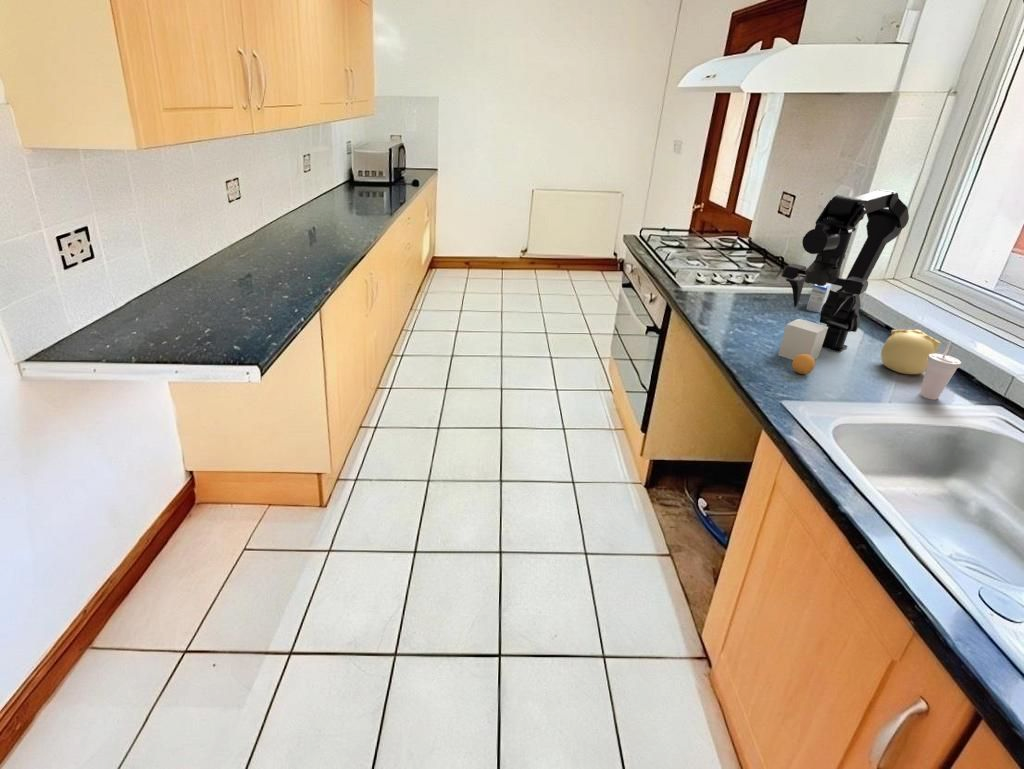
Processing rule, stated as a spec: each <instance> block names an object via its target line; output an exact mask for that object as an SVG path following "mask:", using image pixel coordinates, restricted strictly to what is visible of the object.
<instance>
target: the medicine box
mask: <svg viewBox="0 0 1024 769" xmlns="http://www.w3.org/2000/svg"><path fill="white" fill-rule="evenodd" d="M831 287H832V284H830V283H826V285H824V286H818V285H817V284H813V286H812V289H811V291H810V292H811V293H810V294H809V298H808V299H809V300H808V302H807V305H806V311H810V312H814V313H820V314H821V309H822V306H823V305H824V303H825V302H826V301H827V299H828V297H829V295H830V291H831Z"/></svg>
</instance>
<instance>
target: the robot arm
mask: <svg viewBox="0 0 1024 769" xmlns="http://www.w3.org/2000/svg"><path fill="white" fill-rule="evenodd" d="M909 214H910V213H909V209H908V206H907V205H906V204H905V203H904V202H903V201H902V200H901V199H900V197H899V193H898V192H896V191H894V190H887V189H886V190H885V189H875V190H874V191H872V192H868V193H867V192H866V193H864V194H860V195H857V196H850V195H849V196H848V195H840V194H837V195H833V197H832V198H831V199H830V200H829V201H828V202H827V204H826V205H825V207H824V208H823V210H822V211H821V213H820V215H819V216H818V217H817V219H816V221H815V226H814V228H813V229H810V230H808V231H806V233H805V235H804V236H803V237H802V248H803V249H804V251H806V252H807V253H808V254H810V255H816V256H815V259H814V260H813V262H812V263H811V264H810V265H809V266H808V267H807V265H806V266H805V265H802V264H801V265H800V264H796V263H791V264H789V265H786V266H785V267H784V268H783V270H782V272H781V277H782V278H785V280H786V282H788V283H789V284H790V285H791V290H792V296H793V306H794V308H796V307H798V304H799V302H800V300H801V295H802V292H803V288H804V283H806V284H813V285H815V284H817V285H818V286H824V285H826V283H830V284H831V285H835V286H838V287H839V286H840V288H839V289H838V290H835V291H831V292H829V294H828V297H827V300H826V302H825V303H824V305H823V306H822V309H821V311H820V318H819V323H821V324H824V325H825V326H827V327H828V329H827V333H826V336H825V339H824V342H823V345H822V348H824V349H827V350H830V351H834V352H838V353H841V352H842V351H844V350H845V349H847V348H848V345H846V344H845V343H846V340H847V337H848V334H849V333H851V332H853V333H857V330H859V328H860V325H861V322H862V321H861V317H860V313H859V312H860V310H861V306H862V305H861V298H860V295H862V294H864V293H865V292H866V291H867V289H868V286H869V281H868V279H869V277H870V276H871V274H872V273H873V272H872V271H873V269H874V268H875V267H876V264H877V263H878V260H879V258H880V257H881V255H882V253H883V251H884V249H885V247H886V245H887V244H889V243H890V242H891V241H893V240H895V239H896V238H897V237H898V236H900V234H901V232H902V230H903V229H905V227H906V226H907V225H908V222H909V218H910V215H909ZM865 215H866V217H867V223H866V225H865V227H866V233H867V234H866V235H867V238H866V239H865V241H864V243H863V245H862V247H861V249H860V251H859V253H858V255H857V257H856V259H855V261H854V263H853V265H852V266H851V268H850V271H849V272H848V273H847V276H846V278H843V277H840V274H841V268H842V264H843V262H844V260H845V259H846V252H847V249H848V246H849V244H850V240H851V237H852V233H853V232H856V230H857V228H856V227H857V225H858V224H859V222H861V221H862V220H864V217H865Z"/></svg>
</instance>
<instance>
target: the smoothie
mask: <svg viewBox="0 0 1024 769" xmlns="http://www.w3.org/2000/svg"><path fill="white" fill-rule="evenodd" d="M952 342H953V340H952V339H949V340H948V342H947V345H946V347H945V349H944V352H943V353H938V352H937V353H933V354H929V356H928V358H927V359H928V363H927V367H926V371H925V372H924V375H923V379H922V384H921V387H920V391H919V395H920V396H921V397H922V398H925V399H929V400H938V399H939V398H940V396H941V395H942V393H943V391H944V390H945V388H946V387H947V385H948V383H949V381H951V380H952V377H953V376H954V374H955V373H956V371H957V369H959V368H960V367H961V365H962V361H960V360H959V359H958V358H956V357H954V356H951V355H947V354H948V351H949V349H950V347H951V344H952Z"/></svg>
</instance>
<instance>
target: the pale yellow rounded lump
mask: <svg viewBox="0 0 1024 769" xmlns="http://www.w3.org/2000/svg"><path fill="white" fill-rule="evenodd" d="M890 334H891V335H890V336H889V337H888V338H887V340H886V341H885V342H884V344H883V346H882V348H881V352H880V353H881V354H880V358H881V362H882V364H883V365H884V366H885V367H886V368H888V369H890V370H892V371H893V372H896V373H900V374H904V375H919V374H923V373H925V371H926V367H927V363H928V359H927V358H928V356H929V354H933V353H937V354H938V348H939V347H940V346H941V344H942V343H941V341H939V340H937V339H935V338H934V337H933V336H931V335H928V334H926V333H925V332H924V331H922V330H920V329H892V330H891V331H890Z"/></svg>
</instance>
